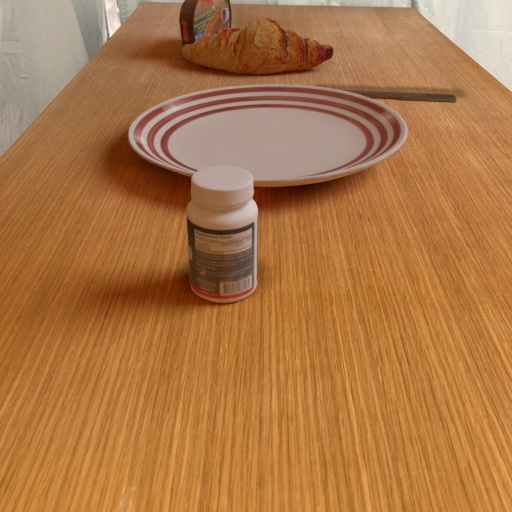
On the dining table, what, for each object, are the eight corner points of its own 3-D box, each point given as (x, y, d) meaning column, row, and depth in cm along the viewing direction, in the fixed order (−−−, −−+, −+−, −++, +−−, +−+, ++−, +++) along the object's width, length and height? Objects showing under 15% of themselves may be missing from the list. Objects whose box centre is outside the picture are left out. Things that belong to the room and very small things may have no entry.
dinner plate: (92, 202, 60) (87, 167, 58) (165, 103, 83) (163, 75, 82) (414, 221, 57) (419, 185, 56) (396, 113, 81) (399, 85, 79)
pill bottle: (204, 264, 51) (200, 158, 47) (265, 274, 50) (267, 166, 46) (179, 298, 47) (173, 186, 43) (245, 310, 46) (245, 196, 42)
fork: (319, 96, 86) (320, 92, 86) (320, 92, 88) (320, 88, 87) (456, 102, 85) (456, 98, 84) (454, 97, 86) (454, 93, 86)
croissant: (180, 94, 97) (171, 50, 91) (189, 44, 103) (181, -1, 96) (332, 95, 96) (334, 51, 89) (332, 45, 101) (335, -1, 94)
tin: (197, 63, 99) (195, 1, 95) (177, 61, 100) (174, -1, 96) (234, 39, 111) (233, -16, 107) (215, 38, 112) (214, -18, 108)
